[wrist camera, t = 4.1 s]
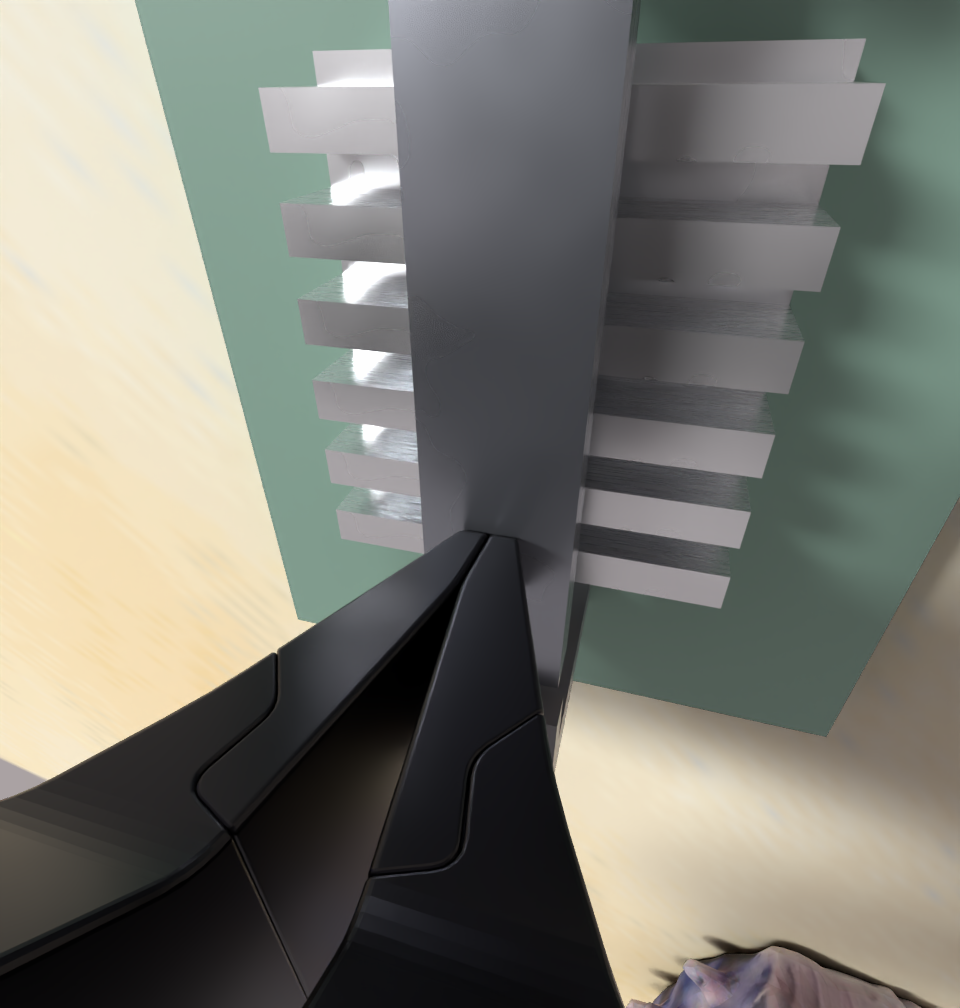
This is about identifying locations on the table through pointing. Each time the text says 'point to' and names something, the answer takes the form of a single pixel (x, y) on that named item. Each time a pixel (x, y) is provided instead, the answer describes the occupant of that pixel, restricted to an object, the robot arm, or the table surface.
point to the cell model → (770, 985)
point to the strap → (510, 266)
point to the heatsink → (630, 301)
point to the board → (795, 416)
